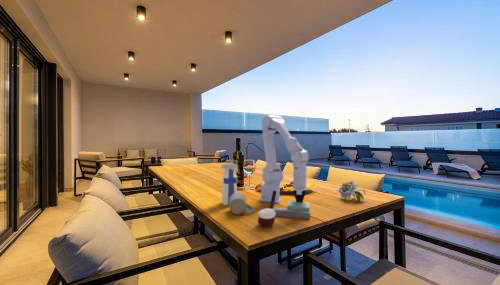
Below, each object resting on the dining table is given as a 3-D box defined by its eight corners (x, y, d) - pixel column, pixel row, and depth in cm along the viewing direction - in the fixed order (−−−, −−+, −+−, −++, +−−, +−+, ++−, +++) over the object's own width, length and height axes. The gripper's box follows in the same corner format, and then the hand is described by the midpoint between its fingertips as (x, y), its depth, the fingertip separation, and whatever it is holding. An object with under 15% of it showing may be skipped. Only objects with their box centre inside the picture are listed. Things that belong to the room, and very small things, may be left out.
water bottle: (235, 199, 116) (235, 151, 115) (239, 204, 108) (240, 153, 107) (219, 201, 113) (220, 152, 113) (223, 205, 105) (223, 153, 105)
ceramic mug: (229, 215, 92) (229, 197, 92) (228, 209, 100) (229, 192, 100) (254, 215, 93) (255, 197, 93) (252, 209, 101) (252, 192, 101)
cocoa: (259, 231, 78) (259, 198, 77) (252, 224, 84) (252, 193, 83) (283, 226, 82) (282, 194, 81) (274, 219, 88) (274, 189, 87)
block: (287, 215, 94) (287, 205, 94) (288, 209, 101) (288, 201, 101) (309, 217, 92) (309, 207, 91) (309, 211, 98) (309, 202, 98)
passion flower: (344, 209, 118) (331, 189, 123) (356, 203, 123) (344, 184, 128) (359, 203, 109) (345, 181, 114) (372, 196, 114) (358, 175, 119)
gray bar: (272, 215, 93) (272, 209, 93) (273, 213, 95) (273, 207, 95) (309, 219, 89) (310, 213, 89) (309, 217, 92) (309, 211, 91)
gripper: (309, 180, 92) (308, 212, 93) (308, 174, 106) (308, 202, 107) (291, 179, 94) (291, 211, 94) (293, 173, 108) (293, 201, 108)
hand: (299, 206), depth 101 cm, fingers closed
